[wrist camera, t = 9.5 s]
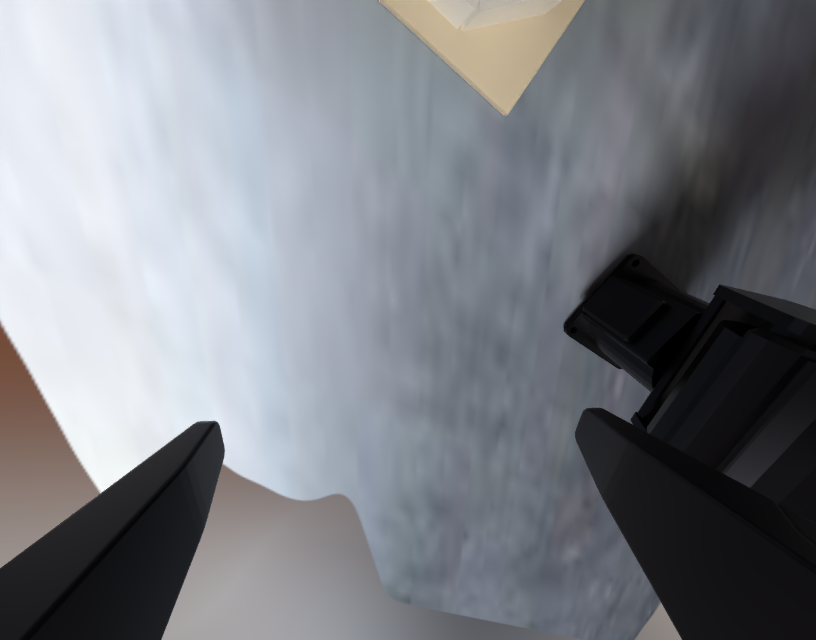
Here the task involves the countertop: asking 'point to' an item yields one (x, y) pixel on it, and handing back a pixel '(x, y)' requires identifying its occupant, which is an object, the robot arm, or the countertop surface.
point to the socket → (489, 39)
